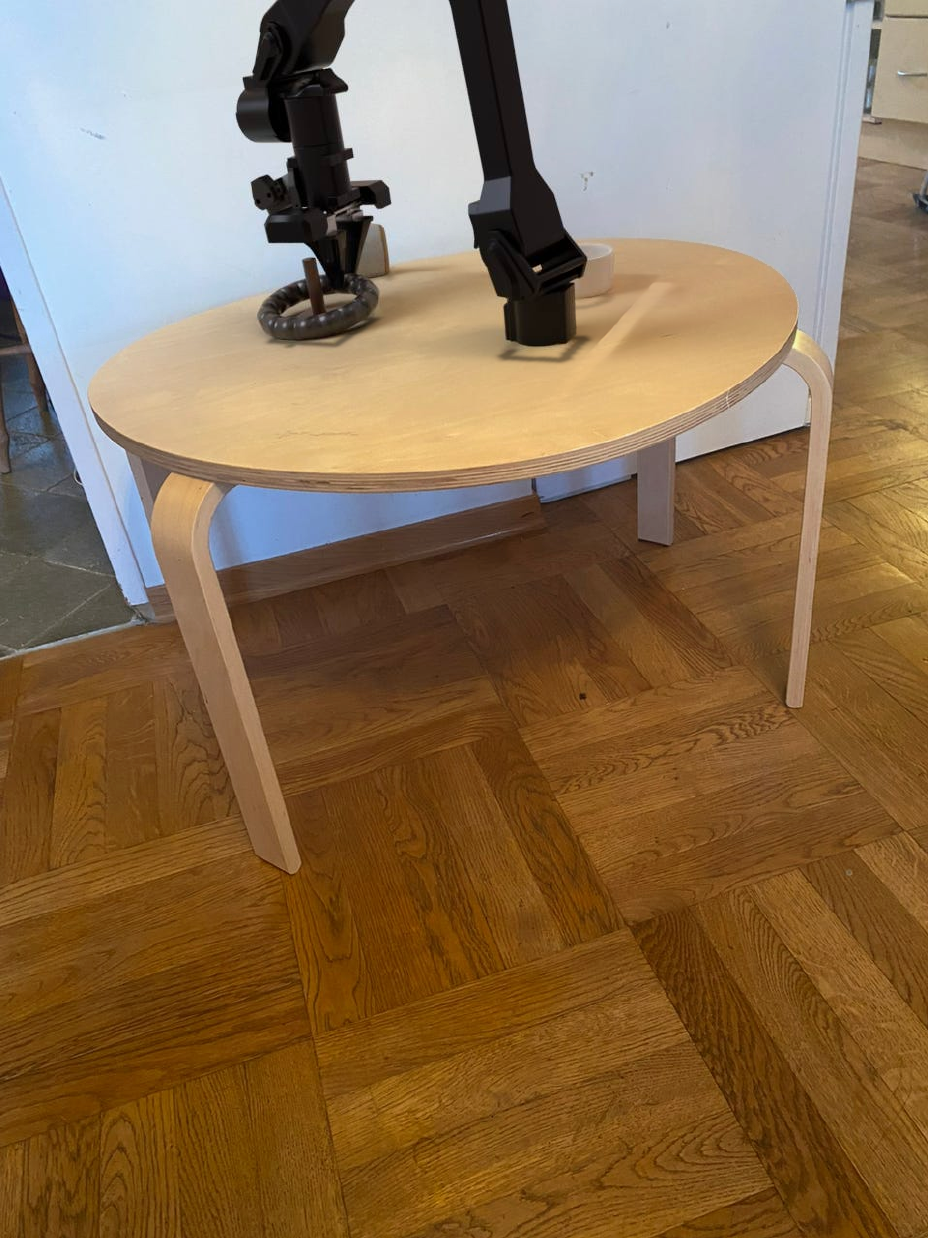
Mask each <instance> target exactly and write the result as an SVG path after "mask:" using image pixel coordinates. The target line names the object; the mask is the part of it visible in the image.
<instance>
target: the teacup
mask: <svg viewBox="0 0 928 1238" xmlns="http://www.w3.org/2000/svg"><path fill="white" fill-rule="evenodd" d="M576 244H577V245H578V246H579V247H580V249H581V250H582V251H583V252H584V254H585V255H586V256H587V264H586V267H585V271H584V275H583V277H581V278H579V279H575V280H573V281H571V282H574V283H575V300H577V299H585V298H586V299H587V298H588V299H589V298H593V297H597V296H600V295H603V294H605V293H607V292H609V290H610V288H611V286H612V284H613V283H612V282H613V280H614V270H615V269H614V268H615V251H614V248H613V247H612V246H611V245H609V244H605V243H599V242H580V243H576Z"/></svg>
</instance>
